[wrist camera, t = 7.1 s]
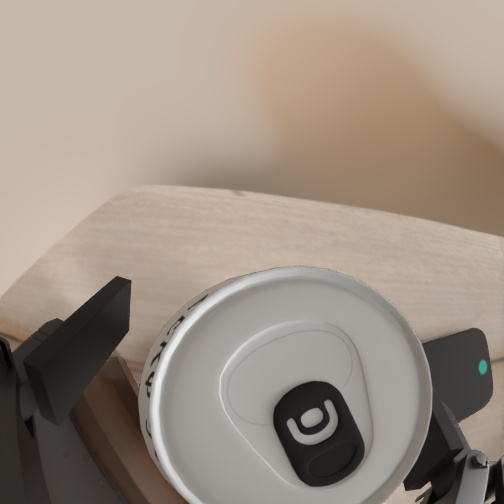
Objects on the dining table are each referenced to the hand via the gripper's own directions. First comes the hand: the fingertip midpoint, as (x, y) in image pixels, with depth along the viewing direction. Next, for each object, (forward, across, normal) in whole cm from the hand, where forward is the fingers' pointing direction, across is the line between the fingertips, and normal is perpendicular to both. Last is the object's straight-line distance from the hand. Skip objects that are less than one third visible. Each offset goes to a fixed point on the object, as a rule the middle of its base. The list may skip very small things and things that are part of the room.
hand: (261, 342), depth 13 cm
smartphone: (+4, +15, -5) cm, 16 cm away
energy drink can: (+3, 0, -6) cm, 7 cm away
